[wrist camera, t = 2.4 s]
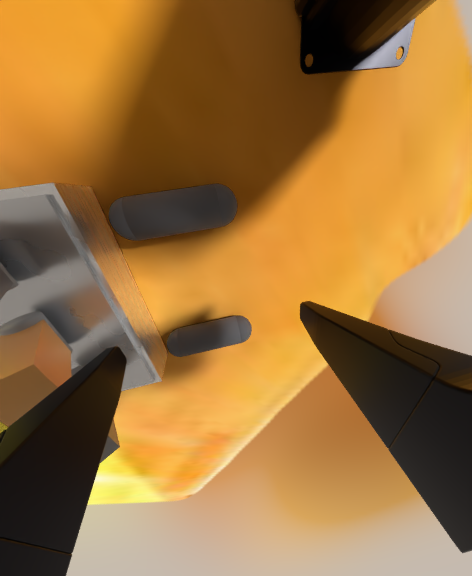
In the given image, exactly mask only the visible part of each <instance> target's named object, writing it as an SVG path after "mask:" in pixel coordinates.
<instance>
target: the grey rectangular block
mask: <svg viewBox="0 0 472 576" xmlns="http://www.w3.org/2000/svg"><path fill="white" fill-rule="evenodd" d="M18 285H19V284H18V283H17V282H16V281H15V279H14V278H13V277H12V276H11V274H10V273H9V272H8V271H7V270H6V268H5V267H4V266H3V265H2V264H1V262H0V300H1V299H2V297H3V296H4V295H5V294H6V292H7V291H9V290H11V289H13V288H15V287H17V286H18Z"/></svg>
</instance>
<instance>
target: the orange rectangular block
mask: <svg viewBox="0 0 472 576" xmlns="http://www.w3.org/2000/svg"><path fill="white" fill-rule="evenodd" d="M0 335H1V336H0V422H2V423H3V424H5V425H6V426H8V427H9V426H10V425H12V424H13V423H14V422H15V421H17V420H18V419H19V418H20V417H22V416H23V415H24V414H25V413H27V412H28V411H29V410H30V409H32V408H33V407H34V406H35V405H37V404H38V403H39V402H40V401H42V400H43V399H44V398H45V397H47V396H48V395H49V394H50V393H52V392H53V391H54V390H55V389H57V388H58V387H59V386H60V385H62V384H63V383H64V382H65V381H67V380H68V379H69V378H70V377H72V376H71V354H72V351H73V349H72V348H71V347H70V345H69V344H68V343H67V342H66V341H65V339H64V338H63V337H62V336H61V335H60V333H59V332H58V331H57V330H56V329H55V327H54V326H53V325H52V324H51V323H50V321H49V320H48V319H47V318H46V317H45V315H44V314H43V313H42V312H40V311H36V312H31V313H28V314H25V315H22V316H19V317H17V318H14V319H12V320H10V321H8V322H7V323H5V324H3V325H2V326H0Z"/></svg>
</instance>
